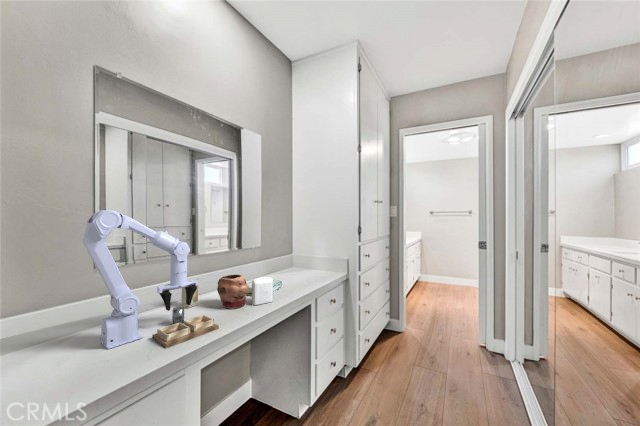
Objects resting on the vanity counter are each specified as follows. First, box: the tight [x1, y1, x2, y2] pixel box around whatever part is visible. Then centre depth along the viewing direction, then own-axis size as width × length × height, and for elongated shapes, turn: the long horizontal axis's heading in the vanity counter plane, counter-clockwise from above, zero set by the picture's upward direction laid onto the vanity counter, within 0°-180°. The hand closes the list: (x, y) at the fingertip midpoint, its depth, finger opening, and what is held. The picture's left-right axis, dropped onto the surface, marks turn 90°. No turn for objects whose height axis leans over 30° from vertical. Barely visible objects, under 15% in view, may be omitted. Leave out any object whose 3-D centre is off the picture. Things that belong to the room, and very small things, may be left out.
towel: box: [245, 279, 283, 297], centre depth 145 cm, size 18×21×5 cm
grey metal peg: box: [171, 306, 185, 325], centre depth 100 cm, size 4×4×6 cm
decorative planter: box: [216, 274, 249, 309], centre depth 121 cm, size 20×12×14 cm, turn 62°
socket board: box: [151, 314, 220, 349], centre depth 92 cm, size 18×11×3 cm, turn 143°
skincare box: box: [180, 277, 199, 309], centre depth 121 cm, size 6×4×12 cm
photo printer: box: [251, 276, 274, 306], centre depth 125 cm, size 10×4×12 cm, turn 126°
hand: (178, 307), depth 100 cm, fingers open, 7 cm apart
